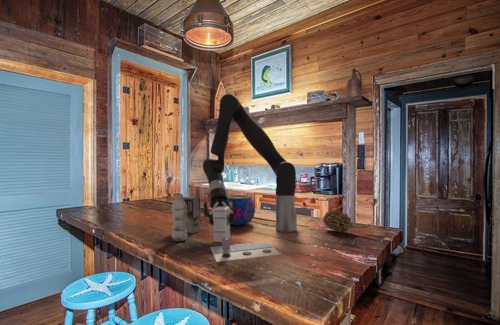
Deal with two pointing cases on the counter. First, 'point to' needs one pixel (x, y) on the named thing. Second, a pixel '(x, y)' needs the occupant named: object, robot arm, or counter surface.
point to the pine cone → (340, 221)
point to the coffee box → (192, 214)
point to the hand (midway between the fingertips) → (222, 223)
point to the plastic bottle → (179, 218)
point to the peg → (226, 247)
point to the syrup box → (221, 223)
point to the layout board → (245, 251)
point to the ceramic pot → (242, 209)
